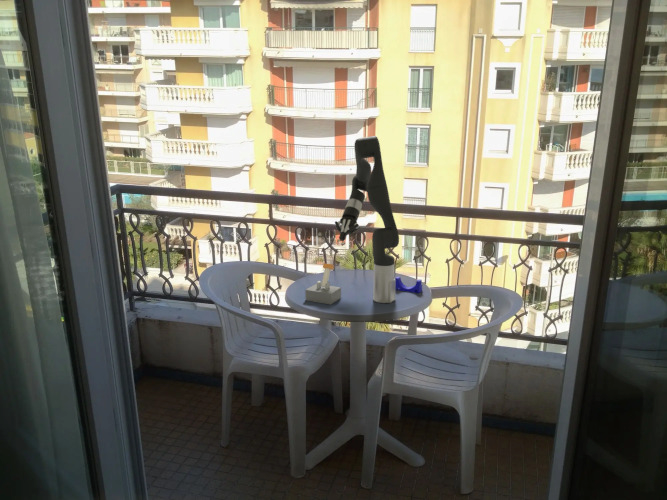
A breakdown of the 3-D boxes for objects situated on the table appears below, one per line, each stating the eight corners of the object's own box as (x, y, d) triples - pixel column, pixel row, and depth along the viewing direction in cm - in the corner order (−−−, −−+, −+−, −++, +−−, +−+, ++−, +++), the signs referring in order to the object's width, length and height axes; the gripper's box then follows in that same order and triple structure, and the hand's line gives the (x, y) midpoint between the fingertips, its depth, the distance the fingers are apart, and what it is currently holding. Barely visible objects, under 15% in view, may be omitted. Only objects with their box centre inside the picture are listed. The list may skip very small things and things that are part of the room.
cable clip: (422, 290, 282) (422, 278, 281) (419, 293, 278) (419, 281, 277) (398, 287, 287) (398, 275, 286) (395, 290, 283) (395, 278, 282)
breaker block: (341, 298, 272) (341, 281, 270) (331, 304, 263) (331, 287, 261) (316, 294, 277) (315, 277, 275) (305, 300, 269) (305, 283, 267)
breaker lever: (329, 287, 269) (334, 265, 272) (327, 286, 267) (332, 264, 270) (320, 286, 271) (325, 264, 274) (318, 285, 269) (323, 263, 271)
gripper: (337, 204, 289) (326, 234, 281) (362, 207, 283) (352, 237, 276) (342, 213, 295) (331, 242, 287) (367, 215, 289) (356, 246, 282)
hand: (341, 240), depth 281 cm, fingers closed
